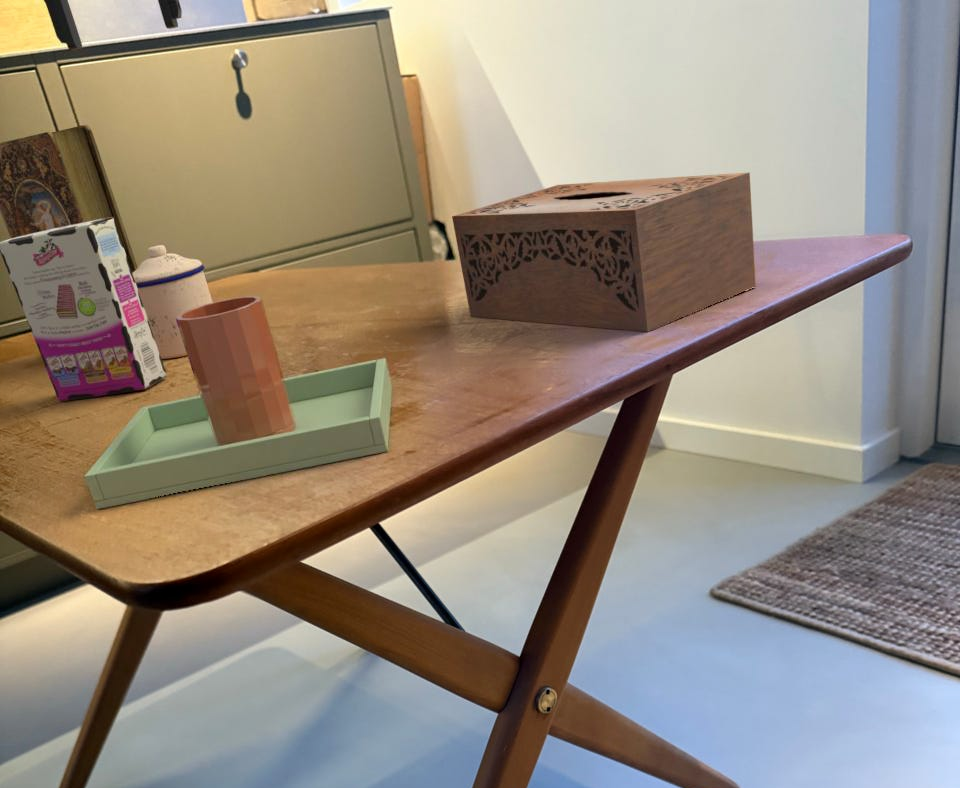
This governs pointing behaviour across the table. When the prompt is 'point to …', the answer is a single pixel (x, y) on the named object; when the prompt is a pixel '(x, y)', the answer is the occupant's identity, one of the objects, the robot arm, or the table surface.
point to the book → (56, 184)
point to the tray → (201, 463)
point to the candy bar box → (84, 309)
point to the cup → (237, 369)
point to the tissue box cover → (610, 251)
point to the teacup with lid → (170, 295)
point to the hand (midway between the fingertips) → (123, 38)
